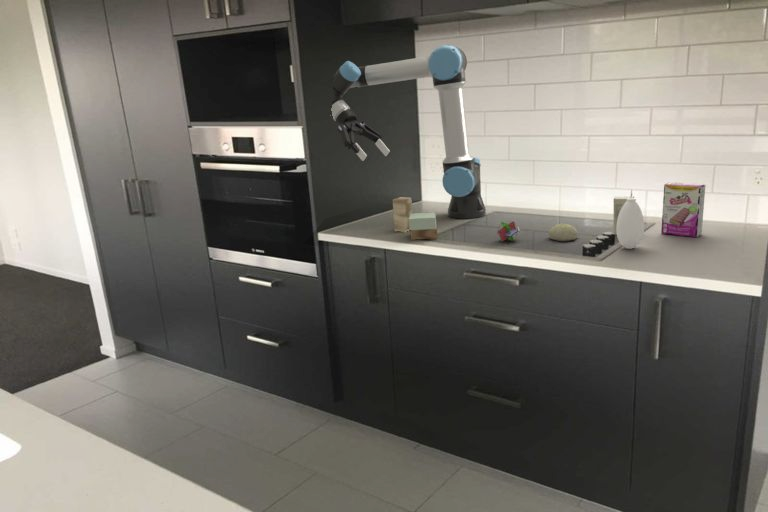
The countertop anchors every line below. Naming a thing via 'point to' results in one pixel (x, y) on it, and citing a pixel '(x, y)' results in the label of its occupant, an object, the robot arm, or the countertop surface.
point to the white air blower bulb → (630, 224)
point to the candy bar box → (683, 209)
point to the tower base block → (424, 234)
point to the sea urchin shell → (563, 232)
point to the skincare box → (618, 209)
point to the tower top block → (422, 221)
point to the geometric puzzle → (508, 231)
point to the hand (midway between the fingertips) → (376, 156)
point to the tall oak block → (402, 213)
